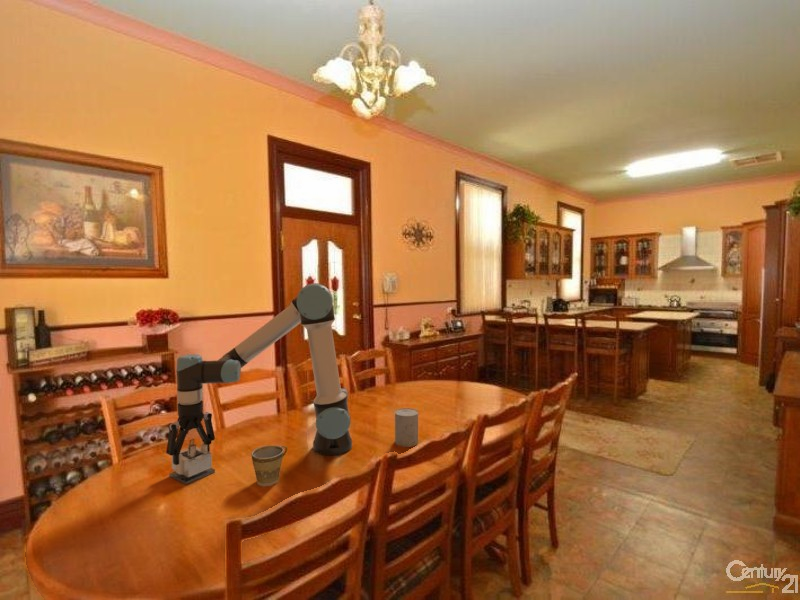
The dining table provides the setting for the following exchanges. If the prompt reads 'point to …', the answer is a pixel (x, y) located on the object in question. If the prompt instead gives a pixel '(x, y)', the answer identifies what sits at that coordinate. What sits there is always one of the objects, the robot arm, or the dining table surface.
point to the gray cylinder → (406, 427)
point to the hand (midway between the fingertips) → (192, 467)
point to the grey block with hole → (195, 462)
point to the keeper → (187, 480)
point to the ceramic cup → (268, 464)
